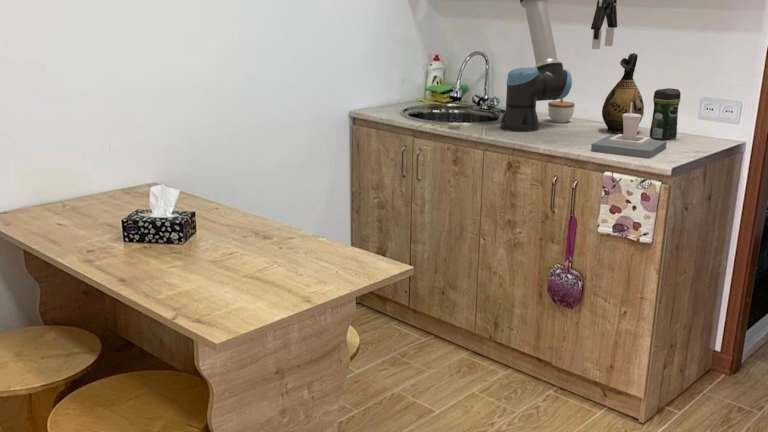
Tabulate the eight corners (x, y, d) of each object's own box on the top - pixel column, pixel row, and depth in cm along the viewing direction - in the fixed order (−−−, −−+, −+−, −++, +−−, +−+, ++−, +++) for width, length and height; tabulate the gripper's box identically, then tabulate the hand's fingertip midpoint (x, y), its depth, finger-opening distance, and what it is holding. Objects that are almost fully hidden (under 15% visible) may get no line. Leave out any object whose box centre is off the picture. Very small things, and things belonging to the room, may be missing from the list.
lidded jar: (547, 118, 328) (549, 96, 325) (573, 120, 325) (575, 97, 322) (546, 123, 318) (547, 100, 315) (572, 124, 315) (574, 101, 312)
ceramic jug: (635, 137, 290) (644, 56, 281) (595, 132, 298) (602, 53, 289) (647, 130, 304) (655, 52, 295) (608, 126, 312) (615, 50, 303)
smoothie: (616, 140, 270) (620, 100, 266) (634, 140, 270) (638, 100, 266) (623, 144, 264) (627, 103, 260) (641, 144, 264) (646, 103, 260)
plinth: (590, 150, 265) (591, 139, 264) (609, 141, 281) (610, 130, 280) (649, 158, 254) (651, 146, 253) (665, 148, 270) (667, 137, 269)
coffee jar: (662, 135, 294) (667, 86, 288) (679, 138, 287) (685, 88, 282) (645, 137, 289) (650, 88, 283) (662, 141, 282) (668, 90, 277)
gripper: (607, -14, 257) (600, 51, 263) (630, -15, 276) (623, 45, 283) (585, -15, 261) (579, 49, 267) (609, -16, 280) (603, 44, 287)
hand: (602, 47), depth 275 cm, fingers open, 13 cm apart
